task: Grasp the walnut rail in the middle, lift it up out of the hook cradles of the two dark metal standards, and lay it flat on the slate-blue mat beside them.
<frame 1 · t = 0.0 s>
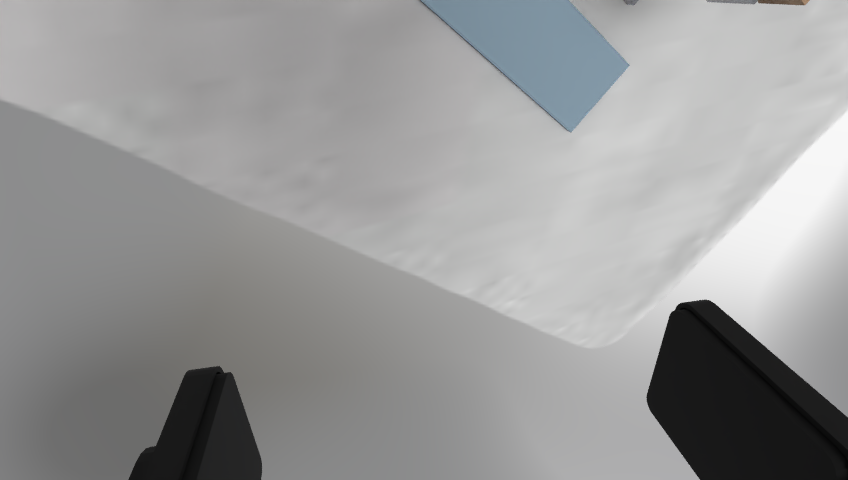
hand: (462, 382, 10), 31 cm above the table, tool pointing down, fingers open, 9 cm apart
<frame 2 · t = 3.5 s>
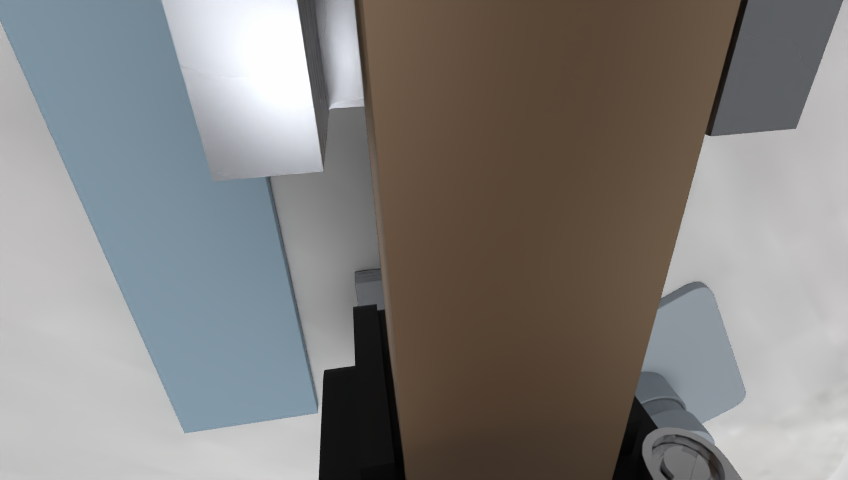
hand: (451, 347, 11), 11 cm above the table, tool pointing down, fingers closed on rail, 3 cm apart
standard 1: (409, 307, 23), on the table
rail: (464, 388, 10), point 12 cm above the table, touching gripper, standard 1
shower valve: (612, 390, 30), on the table
mat: (184, 199, 19), on the table
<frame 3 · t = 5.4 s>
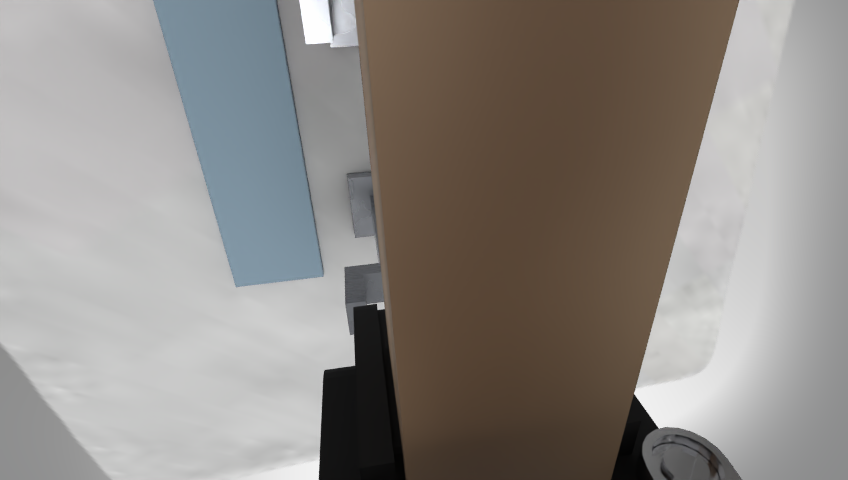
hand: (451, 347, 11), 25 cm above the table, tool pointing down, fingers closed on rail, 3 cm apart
standard 1: (382, 200, 36), on the table
standard 2: (364, 1, 30), on the table
rail: (464, 388, 10), point 27 cm above the table, touching gripper
mat: (245, 121, 32), on the table
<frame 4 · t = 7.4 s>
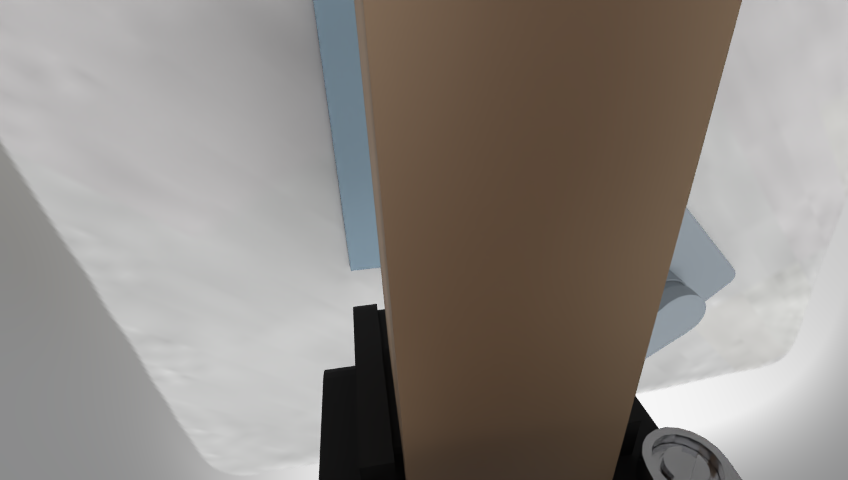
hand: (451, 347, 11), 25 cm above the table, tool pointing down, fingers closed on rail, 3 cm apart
rail: (464, 390, 10), point 26 cm above the table, touching gripper
shower valve: (638, 286, 45), on the table
mat: (379, 104, 32), on the table
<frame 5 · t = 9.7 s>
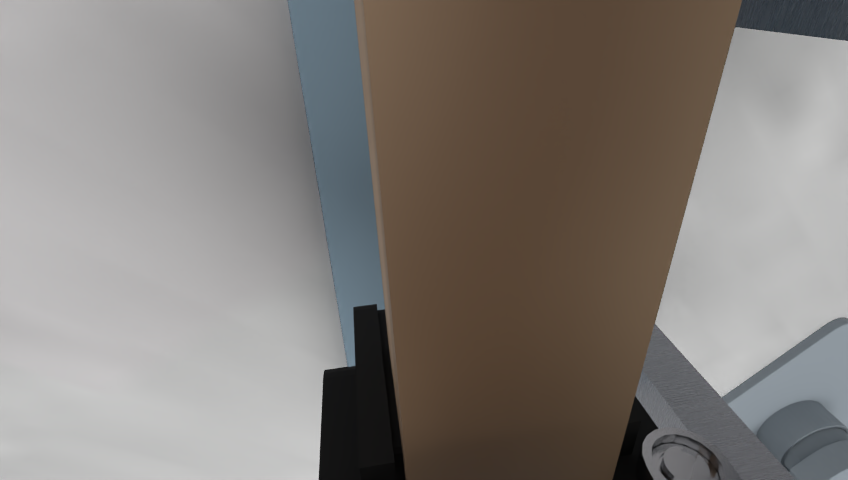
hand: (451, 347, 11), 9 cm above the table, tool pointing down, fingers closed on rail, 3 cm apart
standard 1: (594, 299, 23), on the table
rail: (464, 391, 10), point 10 cm above the table, touching gripper
shower valve: (765, 417, 32), on the table
mat: (409, 188, 19), on the table
when the fingers open (2 cm above the table, at t = 11.6 s): rail drops 2 cm, resting on mat.
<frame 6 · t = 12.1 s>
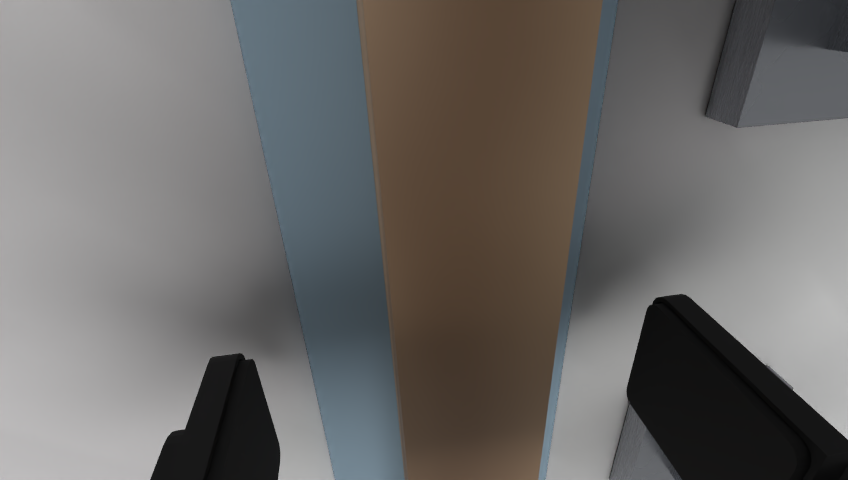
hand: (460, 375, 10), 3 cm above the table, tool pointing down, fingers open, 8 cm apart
standard 1: (684, 425, 17), on the table
rail: (447, 317, 12), point 1 cm above the table, touching mat
mat: (438, 303, 12), on the table
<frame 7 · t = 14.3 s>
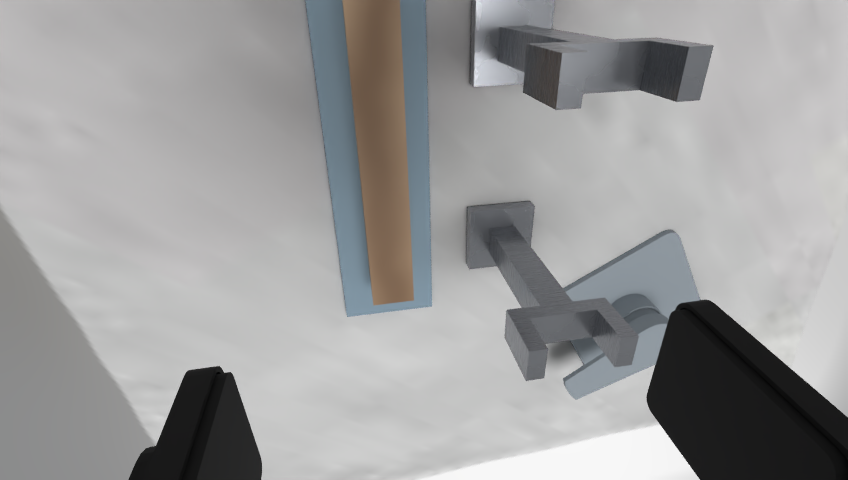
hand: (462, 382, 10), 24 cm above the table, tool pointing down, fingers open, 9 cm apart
standard 1: (497, 232, 37), on the table
standard 2: (508, 42, 30), on the table
rail: (380, 158, 31), point 1 cm above the table, touching mat
shower valve: (612, 311, 44), on the table
mat: (377, 156, 32), on the table
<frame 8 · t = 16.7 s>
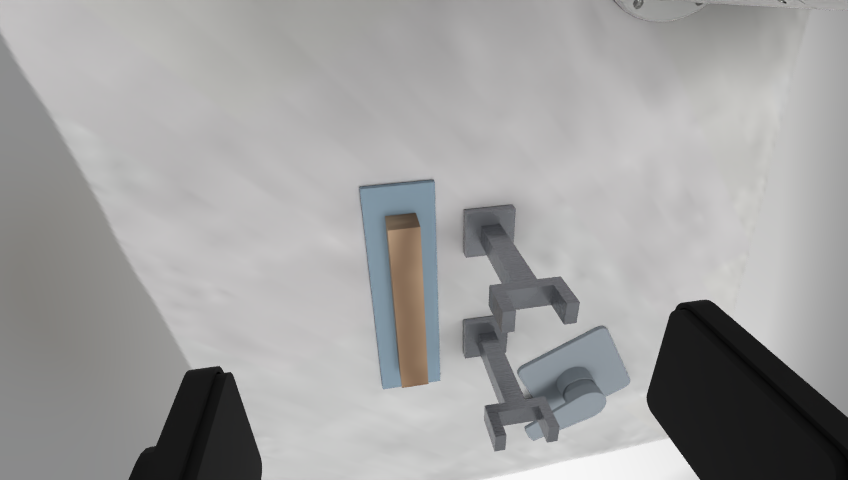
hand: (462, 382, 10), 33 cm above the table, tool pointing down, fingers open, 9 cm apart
standard 1: (483, 333, 54), on the table
standard 2: (487, 229, 47), on the table
rail: (406, 298, 49), point 1 cm above the table, touching mat
shower valve: (563, 376, 61), on the table
mat: (404, 295, 50), on the table
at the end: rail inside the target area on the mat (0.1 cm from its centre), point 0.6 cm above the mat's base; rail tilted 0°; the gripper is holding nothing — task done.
